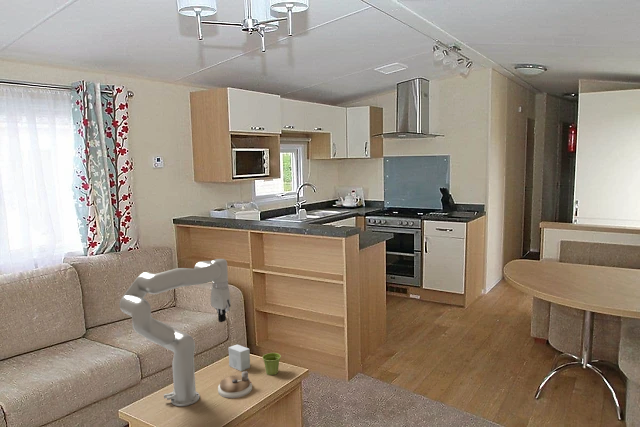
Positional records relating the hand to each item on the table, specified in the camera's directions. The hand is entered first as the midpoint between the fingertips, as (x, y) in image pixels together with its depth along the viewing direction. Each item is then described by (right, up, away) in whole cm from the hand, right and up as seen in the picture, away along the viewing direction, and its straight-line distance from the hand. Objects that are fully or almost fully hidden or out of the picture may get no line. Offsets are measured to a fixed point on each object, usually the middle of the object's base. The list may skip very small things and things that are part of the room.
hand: (222, 321), depth 228 cm
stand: (+7, -32, -5) cm, 33 cm away
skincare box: (+5, -29, +20) cm, 36 cm away
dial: (+7, -29, -5) cm, 31 cm away
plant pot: (+23, -30, +12) cm, 39 cm away
